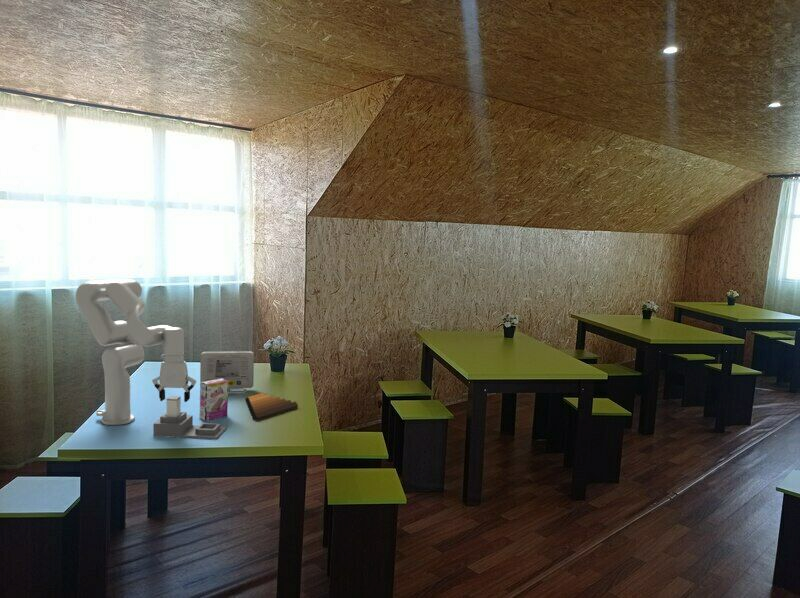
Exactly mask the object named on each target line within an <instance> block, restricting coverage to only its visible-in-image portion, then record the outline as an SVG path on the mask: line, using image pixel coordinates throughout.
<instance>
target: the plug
mask: <svg viewBox="0 0 800 598" xmlns="http://www.w3.org/2000/svg"><path fill="white" fill-rule="evenodd" d="M181 397H182V396H179V395H178V396H176V395H170V396H168V397H167V398H166V412H167V417H179V416H180V412H181Z"/></svg>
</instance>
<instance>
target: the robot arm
mask: <svg viewBox="0 0 800 598" xmlns="http://www.w3.org/2000/svg"><path fill="white" fill-rule="evenodd" d="M142 293H143V288H142V285H141V284H140V283H139V282H138V281H137V280H134V279H103V280H93V281H92V280H91V281H87V282H83V283H81V284H80V285H78V287H77V288H76V291H75V301H76V305H77V307H78V309H79V310H80V312H81V313H82V315H83V317H84V318H85V319H86V321H87V324H88V327H89V328H90V331H91V332H92V335H93V337H94V339H95V341H96V342H97V343H98V344H99V345H100V346H103V347H107V346H111V347H109V348H106V349H105V350H104V352H103V353H102V354H101V364H102V368H103V373H104V409H97V410H96V413H95V414H96V416H99V417H101V419H100V422H101V424H103V425H106V426H121V425H126V424H129V423H131V422H133V421H134V420H135V415H134V414H132V413H131V377H130V374H129V373H128V371H127V368H129V367H133V366H137V365H139V364H141V363H142V362H143V361H144V359H145V349H144V347H147V348H149V347H153V346H158V345H159V346H160V345H163V354H162V355H160V357H159V358H160V359H161V360H162V361H161V363H160V370H159V371H160V372H159V376H157V377H155V378H153V379H152V380H151V381H152V384H153V386H154V387H155V388H156V390H157V391H158V397H159V401H160V402H163V401H164V400H166V389H165V388H167V389H168V388H169V389H183V390H184V394H183V401H184V402H185V403H186V402H188V401H189V400H190V398H191V390H192V389H193V388H194V387H195V385H196V383H197V380H196V379H194V378H192V377H190V376H189V373H188V366H187V362H186V361H185V342H184V341H185V339H184V338H185V337H184V335H185V334H184V333H185V332H184V331H185V330H184V329H183V328H181V327H177V326H170V325H166V324H160V325H155V326H149V327H147V326H146V325H145V324H144V323H143V322H142V321H141V320H140V318H139V317H140V316H141V315H142V314H143V312H144V311H145V309H146V304H145V303H144V302H143V300H142V299H140V297H141V296H142ZM102 301H103V302H104V301H111V302H112V303H113V304H114V305H115V307H117V309H118V310H119V311H120V312H121V313H123V315H124V316H125V317H126V321H125V320H116V321H114V320H113V319H112V318H111V316H110V314H109V312H108V310H107V309H106V307H104V306H103V305H102V304H100V303H99V302H102ZM118 344H119V345H118ZM112 345H113V346H112ZM114 345H115V346H114ZM158 381H159V382H158ZM189 382H190V383H191V384H190V385H189Z"/></svg>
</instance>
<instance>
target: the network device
mask: <svg viewBox="0 0 800 598" xmlns="http://www.w3.org/2000/svg"><path fill="white" fill-rule="evenodd" d="M199 365H200V367H199V368H200V370H199V371H200V373H199V374H200V377H199V380H200V382H205V381H210V380H216V379H222V378H223V379H225V380H228V393H236V394H245V392H246V393H247V389H251V388H253V387H254V380H255V378H254V375H255V374H254V373H255V372H254V369H255V367H254V366H255V353H254V352H253V351H248V350H247V351H246V350H245V351H239V350H237V351H235V350H234V351H232V350H231V351H203V352H201V353H200V363H199ZM230 389H231V390H243V391H231V390H230Z"/></svg>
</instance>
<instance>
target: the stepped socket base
mask: <svg viewBox="0 0 800 598" xmlns="http://www.w3.org/2000/svg"><path fill="white" fill-rule="evenodd" d="M193 422H194V421H193V415H191V414H187V412H186V411H180V416H179V417H167V411H166V412H165V413H164V414H162V415H161V416H160V417H159V419H158V420H156V421H155V422H153V424H152V425H153V426H152V427H153V430H152V431H153V434H152V435H153V436H154V437H165V436H174V437H173V438H184V439H185V438H187V439H204V438H206V439H208V440H218V438H219V437H221V435H222V434H224V432H225V431H226V430H227V426H221V425H222V424H221V423H214V422H213V423H209V422H201V423H200V424H199V425H196V424H195V425H193Z"/></svg>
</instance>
